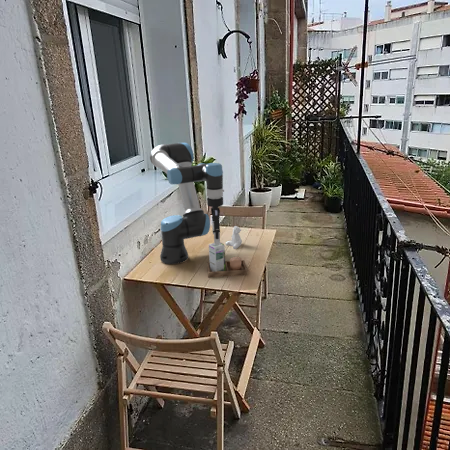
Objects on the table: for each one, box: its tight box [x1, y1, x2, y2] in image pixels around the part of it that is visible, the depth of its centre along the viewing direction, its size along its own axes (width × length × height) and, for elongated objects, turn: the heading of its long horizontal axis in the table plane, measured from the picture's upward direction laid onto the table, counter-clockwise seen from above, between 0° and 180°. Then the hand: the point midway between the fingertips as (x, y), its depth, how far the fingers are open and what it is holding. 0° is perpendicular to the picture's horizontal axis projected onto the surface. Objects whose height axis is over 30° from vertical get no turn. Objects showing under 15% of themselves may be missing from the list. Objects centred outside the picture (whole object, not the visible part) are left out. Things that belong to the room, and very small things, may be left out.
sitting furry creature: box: [225, 225, 243, 250], centre depth 220 cm, size 10×9×12 cm
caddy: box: [206, 259, 248, 278], centre depth 188 cm, size 19×12×4 cm, turn 95°
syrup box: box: [208, 241, 226, 272], centre depth 186 cm, size 6×6×14 cm
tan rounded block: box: [229, 256, 242, 271], centre depth 187 cm, size 6×6×6 cm
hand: (216, 239), depth 182 cm, fingers open, 13 cm apart
